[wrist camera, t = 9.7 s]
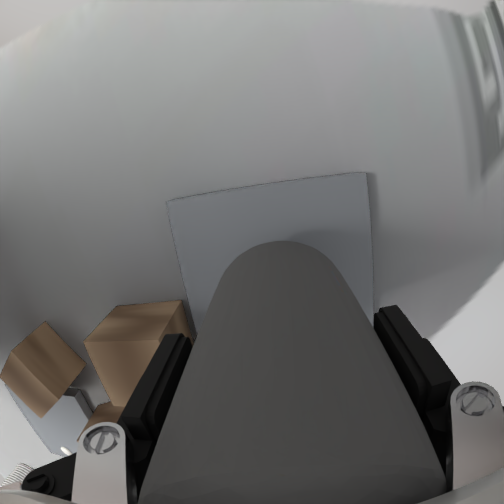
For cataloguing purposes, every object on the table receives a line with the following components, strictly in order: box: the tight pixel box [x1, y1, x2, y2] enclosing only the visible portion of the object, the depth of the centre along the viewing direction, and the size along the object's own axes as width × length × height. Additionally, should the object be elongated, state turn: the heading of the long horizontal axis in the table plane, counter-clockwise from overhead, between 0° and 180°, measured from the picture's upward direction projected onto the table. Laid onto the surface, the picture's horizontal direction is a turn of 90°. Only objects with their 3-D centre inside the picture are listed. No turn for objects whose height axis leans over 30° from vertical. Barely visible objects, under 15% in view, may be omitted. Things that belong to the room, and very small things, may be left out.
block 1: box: [0, 322, 86, 418], centre depth 18 cm, size 4×4×4 cm
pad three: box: [166, 172, 374, 335], centre depth 17 cm, size 10×10×1 cm
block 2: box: [77, 402, 125, 442], centre depth 19 cm, size 4×4×4 cm
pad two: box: [5, 384, 93, 457], centre depth 22 cm, size 10×10×1 cm
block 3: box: [83, 300, 194, 407], centre depth 17 cm, size 4×4×4 cm
